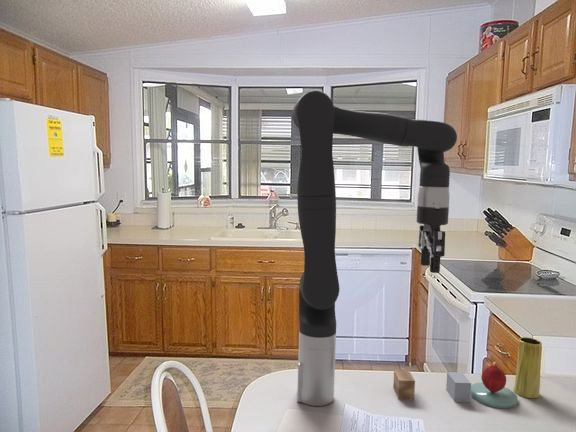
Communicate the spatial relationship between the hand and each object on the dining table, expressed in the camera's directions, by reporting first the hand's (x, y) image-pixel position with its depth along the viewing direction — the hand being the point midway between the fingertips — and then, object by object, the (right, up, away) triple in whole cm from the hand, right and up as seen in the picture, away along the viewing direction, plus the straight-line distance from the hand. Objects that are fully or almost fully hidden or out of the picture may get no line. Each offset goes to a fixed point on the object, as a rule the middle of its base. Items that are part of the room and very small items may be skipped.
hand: (429, 268), depth 111 cm
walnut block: (-6, -33, +3) cm, 34 cm away
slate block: (+8, -33, +3) cm, 34 cm away
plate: (+17, -34, +2) cm, 38 cm away
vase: (+27, -34, +5) cm, 44 cm away
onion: (+17, -33, +2) cm, 37 cm away
